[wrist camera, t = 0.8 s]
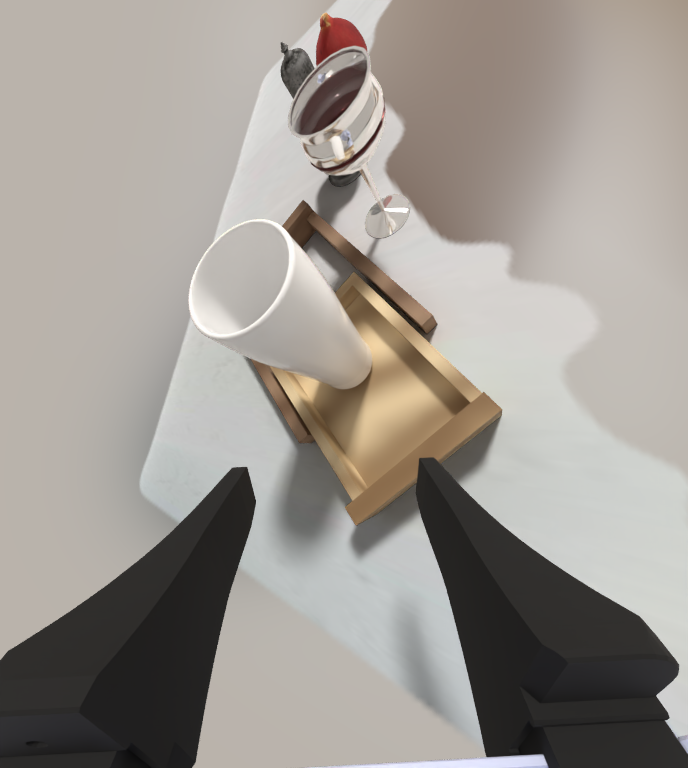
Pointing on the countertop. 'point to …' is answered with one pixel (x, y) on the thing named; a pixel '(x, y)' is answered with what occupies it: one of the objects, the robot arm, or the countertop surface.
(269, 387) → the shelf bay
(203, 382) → the countertop surface
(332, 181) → the salt shaker
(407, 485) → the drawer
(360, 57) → the wineglass
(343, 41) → the onion
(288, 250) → the drinking glass
